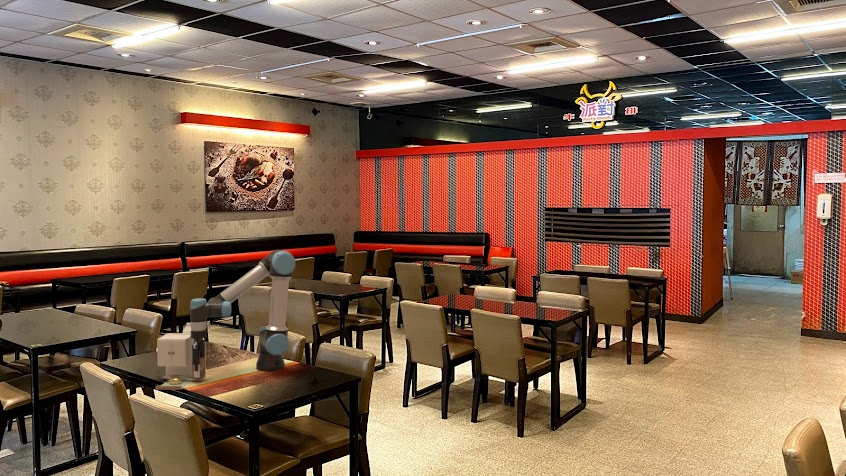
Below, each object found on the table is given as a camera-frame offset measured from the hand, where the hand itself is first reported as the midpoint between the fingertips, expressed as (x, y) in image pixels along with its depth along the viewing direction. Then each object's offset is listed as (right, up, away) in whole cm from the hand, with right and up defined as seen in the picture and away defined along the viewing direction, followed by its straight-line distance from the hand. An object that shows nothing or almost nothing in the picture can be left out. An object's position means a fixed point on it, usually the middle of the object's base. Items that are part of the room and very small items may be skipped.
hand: (198, 375), depth 327 cm
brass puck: (-10, -3, -4) cm, 11 cm away
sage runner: (-10, -3, -5) cm, 11 cm away
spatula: (-8, -1, 0) cm, 8 cm away
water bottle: (-13, -2, +25) cm, 28 cm away
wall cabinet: (-13, -3, +4) cm, 14 cm away
